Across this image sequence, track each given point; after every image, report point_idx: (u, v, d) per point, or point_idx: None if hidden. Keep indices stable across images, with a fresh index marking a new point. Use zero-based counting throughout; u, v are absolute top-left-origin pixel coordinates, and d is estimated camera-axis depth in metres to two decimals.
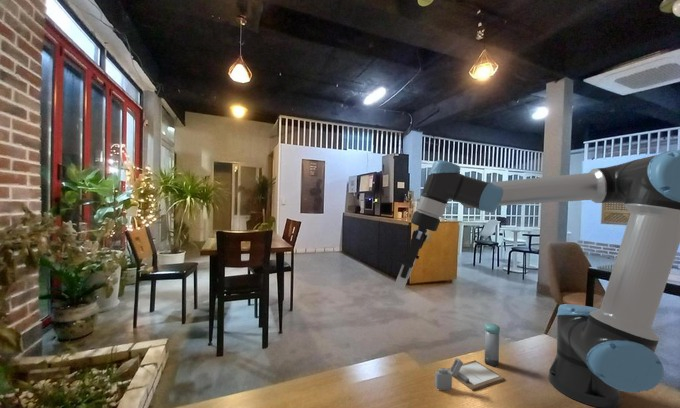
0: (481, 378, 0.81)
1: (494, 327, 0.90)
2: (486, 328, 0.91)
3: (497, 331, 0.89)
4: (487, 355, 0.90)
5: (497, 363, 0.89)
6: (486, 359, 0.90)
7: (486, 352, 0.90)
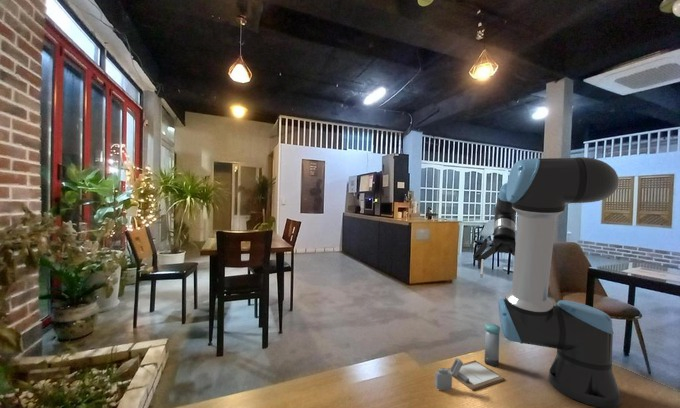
0: (481, 378, 0.81)
1: (494, 327, 0.90)
2: (486, 328, 0.91)
3: (497, 331, 0.89)
4: (487, 355, 0.90)
5: (497, 363, 0.89)
6: (486, 359, 0.90)
7: (486, 352, 0.90)
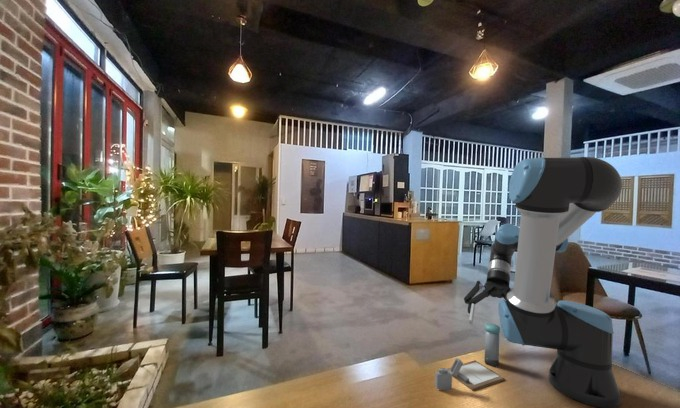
0: (481, 378, 0.81)
1: (494, 327, 0.90)
2: (486, 328, 0.91)
3: (497, 331, 0.89)
4: (487, 355, 0.90)
5: (497, 363, 0.89)
6: (486, 359, 0.90)
7: (486, 352, 0.90)
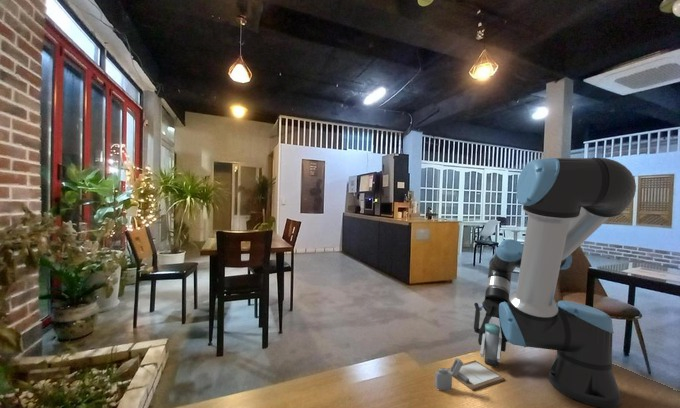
0: (481, 378, 0.81)
1: (494, 327, 0.90)
2: (486, 328, 0.91)
3: (497, 331, 0.89)
4: (487, 355, 0.90)
5: (497, 363, 0.89)
6: (486, 359, 0.90)
7: (486, 352, 0.90)
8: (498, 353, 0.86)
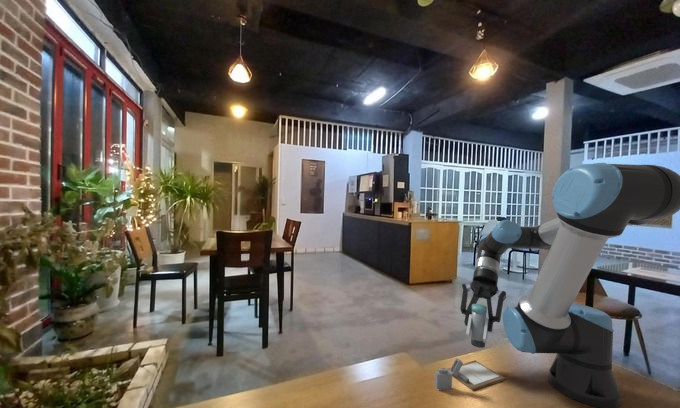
0: (481, 378, 0.81)
1: (481, 307, 0.87)
2: (473, 308, 0.88)
3: (484, 311, 0.86)
4: (473, 335, 0.87)
5: (483, 344, 0.86)
6: (472, 340, 0.88)
7: (472, 333, 0.88)
8: (484, 333, 0.84)
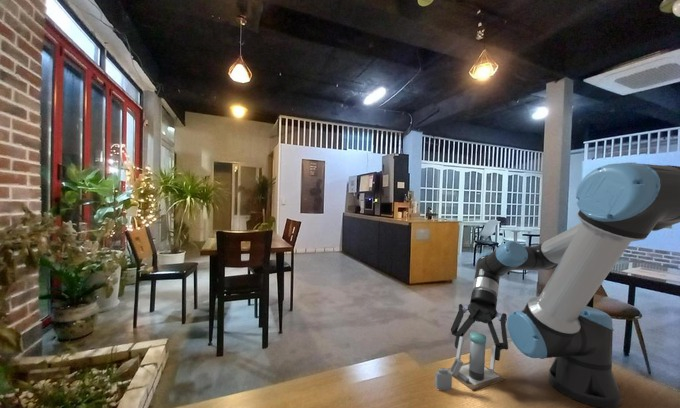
0: None
1: (480, 337, 0.81)
2: (471, 337, 0.82)
3: (483, 341, 0.80)
4: (471, 367, 0.81)
5: (482, 376, 0.80)
6: (470, 372, 0.82)
7: (470, 364, 0.82)
8: (491, 363, 0.77)
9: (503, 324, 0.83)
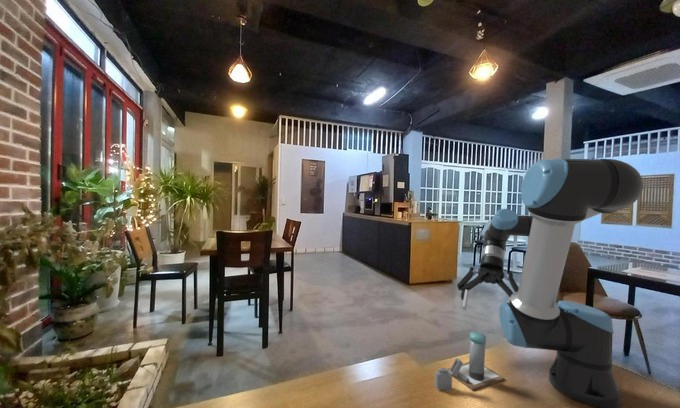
0: None
1: (479, 336, 0.81)
2: (471, 337, 0.82)
3: (483, 341, 0.80)
4: (471, 367, 0.81)
5: (482, 376, 0.80)
6: (470, 372, 0.82)
7: (470, 364, 0.82)
8: None
9: (513, 281, 0.96)
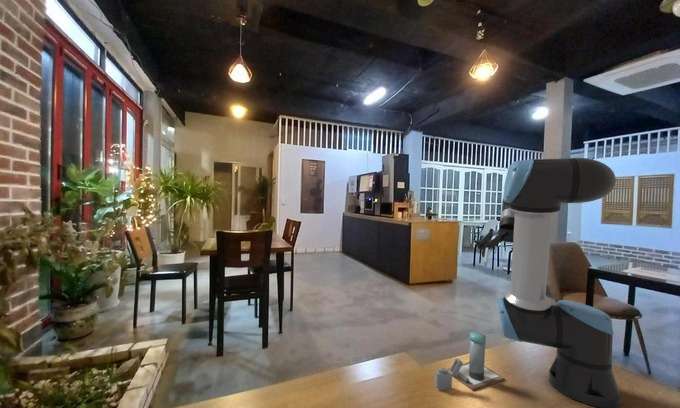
0: None
1: (479, 336, 0.81)
2: (471, 337, 0.82)
3: (483, 341, 0.80)
4: (471, 367, 0.81)
5: (482, 376, 0.80)
6: (470, 372, 0.82)
7: (470, 364, 0.82)
8: None
9: None
